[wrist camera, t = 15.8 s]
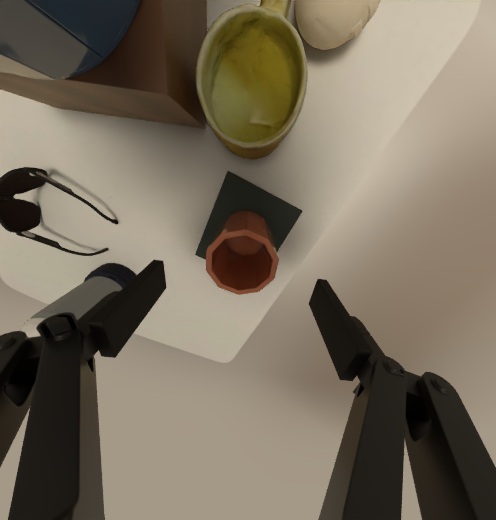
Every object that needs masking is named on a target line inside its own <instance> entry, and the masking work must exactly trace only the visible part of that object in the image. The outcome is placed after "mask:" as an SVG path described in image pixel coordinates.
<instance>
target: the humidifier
mask: <svg viewBox="0 0 496 520" xmlns="http://www.w3.org/2000/svg"><path fill="white" fill-rule="evenodd" d="M135 277H136V274H135V273H134V272H132V271H131V270H130V269H129V268H127V267H125V266H123V265H119V264H115V263H107V264H105V265H102V266H100V267H99V268H97V269H95V270H94V271H92V272H91V273H90V274H89V275H88V276H87V277H86V278H85V281H84V283H82V284H81V285H79V286H77V287H76V288H74V289H73V290H71V291H70V292H68V293H67V294H65V295H64V296H62V297H61V298H59V299H58V300H56V301H55V302H53V303H52V304H50V305H48V306H47V307H45V308H44V309H42V310H41V311H40V312H38V313H36V314H35V315H34V316H32V318H30V320H27V321H26V322H25V323H24V325H23V326H22V328H21V329H20V331H22V332H25V333H26V335H27V336H28V338H30V337H37V336H40V334H39V332H38V331H37V329H36V327H37V326H38V324H39V323H41V322H42V321H43V320H44V319H46V318H48V317H50V316H52V315H55V314H58V313H64V312H71V313H73V314H74V315H75V317H76V319H77V320H78V319H79V318H80V317H81V316H83V315H84V314H85V313H86V312H87V311H88V310H90V309H91V308H92V307H94V305H95V304H97V303H98V302H100V300H101V299H102V298H104V297H105V296H106V295H108V294H110V293H111V292H113V291H121V290H122V289H123V288H124V287H125V286H126V285H127V284H128V283H129V282H130V281H131V280H133V279H134V278H135Z"/></svg>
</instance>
